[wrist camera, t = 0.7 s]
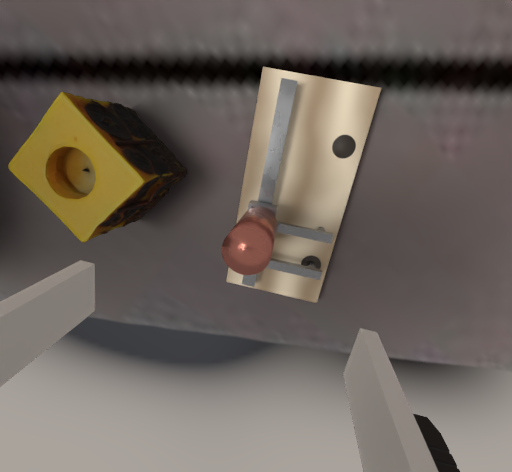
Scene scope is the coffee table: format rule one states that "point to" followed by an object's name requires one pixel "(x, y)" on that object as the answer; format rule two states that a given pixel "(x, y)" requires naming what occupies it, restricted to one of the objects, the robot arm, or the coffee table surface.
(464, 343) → the coffee table surface
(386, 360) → the robot arm
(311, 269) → the rail
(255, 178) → the board
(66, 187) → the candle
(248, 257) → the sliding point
